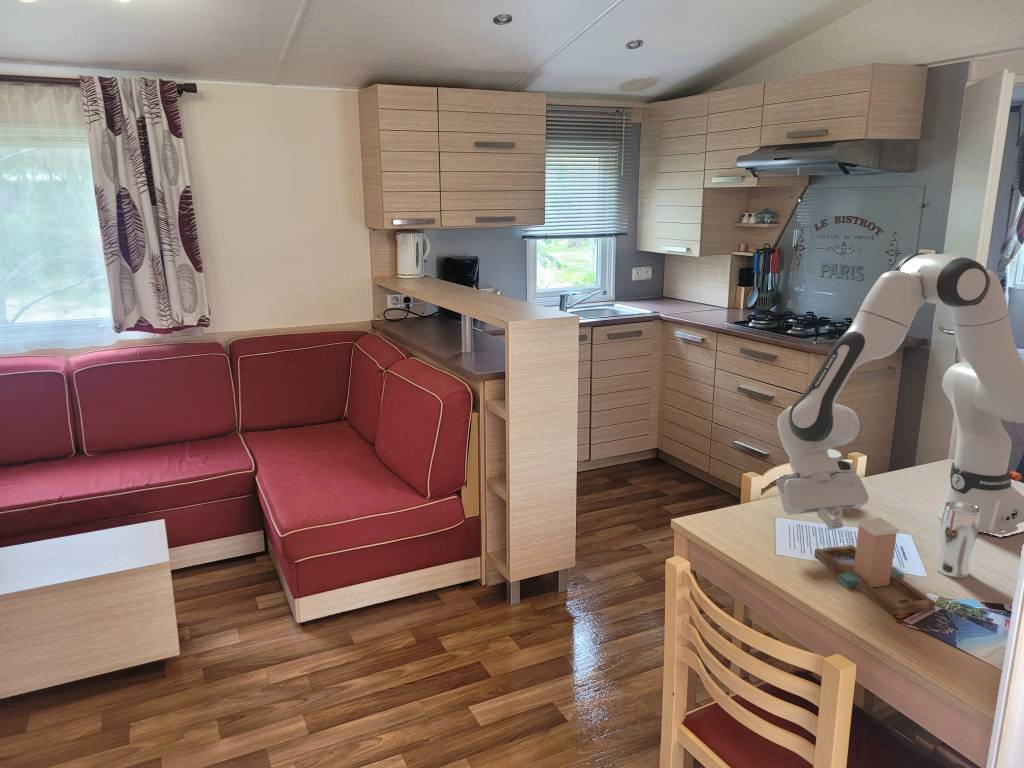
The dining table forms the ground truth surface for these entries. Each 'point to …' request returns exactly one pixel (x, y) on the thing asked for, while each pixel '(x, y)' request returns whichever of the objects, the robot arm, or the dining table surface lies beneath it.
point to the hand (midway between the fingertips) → (836, 528)
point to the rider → (875, 551)
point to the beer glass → (957, 537)
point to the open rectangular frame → (853, 581)
